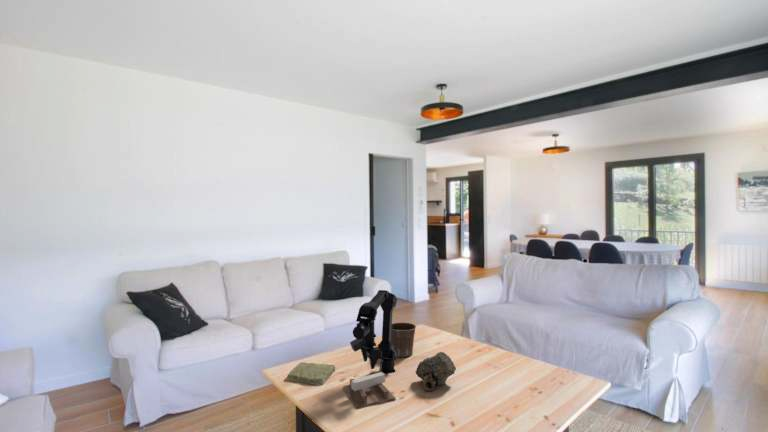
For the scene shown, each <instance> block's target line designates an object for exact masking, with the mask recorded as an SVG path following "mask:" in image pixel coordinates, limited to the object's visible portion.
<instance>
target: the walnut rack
mask: <svg viewBox="0 0 768 432" xmlns="http://www.w3.org/2000/svg"><path fill="white" fill-rule="evenodd" d="M351 380H355V378H351V379H349V384H348V385H347V384H346V385H342V389H343V390H344V392H345V393H346V394H347V396H348V397H349V399H350V400H351V401H352V403H353V405H354V406H355V407H356V409H360V408H364V407H370V406H373V405H378V404H384V403H388V402H393V401H396V399H397V398H396V397H395V395H394V394H393V393H392V392H391V391H390V390H389V389H388V388H387V387H386V385H384V383H381V384H377V385H374V386H371V387H367V388H364V389H361V390H357V391H354V390H353V389H351Z"/></svg>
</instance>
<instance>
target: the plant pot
mask: <svg viewBox="0 0 768 432" xmlns="http://www.w3.org/2000/svg"><path fill="white" fill-rule="evenodd" d="M416 327H417V325H415V323H414V324H413V323H410V322H394V323H393V322H392V330H391V341H392V343H393V344H394V350H395V352H396V353H397V357H398V358H407V357H411V356H412V355H413V354H414V340H415V334H416ZM397 357H396V358H397Z"/></svg>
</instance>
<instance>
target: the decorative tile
mask: <svg viewBox="0 0 768 432" xmlns="http://www.w3.org/2000/svg"><path fill="white" fill-rule="evenodd" d="M335 371H336V365H334V364H325V363H315V362H314V363H313V362H304V361H303V362H299V363H298V364H297V365H296V366H295V367H294V368H293V369H291V370H290V372H289V373H288V374H287V376H286V381H288V382H298V383H303V384H307V385H308V384H309V385H310V384H311V385H320V386H323V385H324V384H325V383H326V382H327V381H328V380H329V379H330V378H331V376H332V375H333V373H334V372H335Z"/></svg>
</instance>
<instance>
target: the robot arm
mask: <svg viewBox="0 0 768 432" xmlns="http://www.w3.org/2000/svg"><path fill="white" fill-rule="evenodd" d="M397 302H398V298H397V296H396V295H395V294H393V293H391V292H390V291H388V290H386V289H384V290H383V289H382V290H381V289H379V290H377V293H376V294H375V295H374V296H373V297H372V298H371V300H369V301H368V302H364V303H363V304H362V305H361V306H360V307H359V309H358V313H357V317H356V321H355V322H357V323H356V326H354V328H353V330H352V334H353V337H354V338H355V339H354V340H352V341H350V343H349V344H350V347H351V349H352V350H353V352H358V351H359V350H360V352H361V354H362V358H363V359H362V360H363V362H367V360H368V359H369V363H370V369H371V370H374V369H375V367H376V365H377V363H378V361H379V360H380V361H379V370H380V372H382V373H384V374H391V373H394V372H396V369H395V361H396V360H397V353H396V352H395V350H394V344H393V343H392V341H391V330H392V324H393V312H394V310H395V308H396V306H397ZM379 307H380V308H381V310H382V311H383V313H382V327H381V329H382V331H381V340H380V342H379V343H378V344H377V343H376V341H375V338H377V334H375V321H376V318H377V315H378V309H379ZM377 345H378V346H377Z"/></svg>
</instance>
